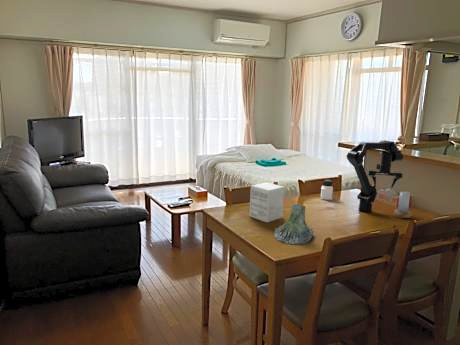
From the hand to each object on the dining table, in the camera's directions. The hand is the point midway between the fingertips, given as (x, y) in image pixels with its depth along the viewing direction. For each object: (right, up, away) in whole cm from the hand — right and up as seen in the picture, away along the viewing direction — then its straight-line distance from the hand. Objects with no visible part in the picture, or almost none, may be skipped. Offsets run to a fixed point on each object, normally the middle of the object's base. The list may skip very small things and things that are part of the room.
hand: (383, 187), depth 222 cm
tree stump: (-62, -21, -46) cm, 80 cm away
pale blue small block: (+6, -13, -12) cm, 19 cm away
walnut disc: (+6, -16, -11) cm, 20 cm away
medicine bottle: (-28, -8, +22) cm, 37 cm away
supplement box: (-72, -15, -20) cm, 77 cm away
